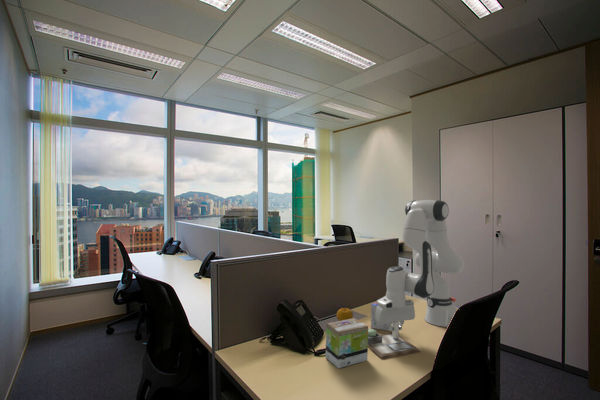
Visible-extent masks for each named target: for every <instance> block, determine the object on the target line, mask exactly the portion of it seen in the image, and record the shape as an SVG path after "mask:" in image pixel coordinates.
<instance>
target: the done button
mask: <svg viewBox="0 0 600 400" xmlns="http://www.w3.org/2000/svg"><path fill="white" fill-rule="evenodd" d="M376 332H377V329H375V328H368V336H369V337H374V336H376Z"/></svg>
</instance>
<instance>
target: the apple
mask: <svg viewBox="0 0 600 400" xmlns="http://www.w3.org/2000/svg"><path fill="white" fill-rule="evenodd" d="M336 318H337V321H342V320H347V319H352V318H354V313H353V312H352V310H351V309H349V308H348V307H341V308H340V309H338V310H337V312H336Z"/></svg>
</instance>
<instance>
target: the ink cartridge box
mask: <svg viewBox="0 0 600 400" xmlns="http://www.w3.org/2000/svg"><path fill="white" fill-rule="evenodd" d="M379 299H380V298H378V299H377V300H379ZM377 306H378V304H377V302H372V303H371V305H370V318H371V319H370V329H374V330H381V331H386V332H387V331H388V332H391V331H390V330H389V325H388V324H387V323H383V324H380V323H379V322H377V321H376V318H375V315H376V307H377Z"/></svg>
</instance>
